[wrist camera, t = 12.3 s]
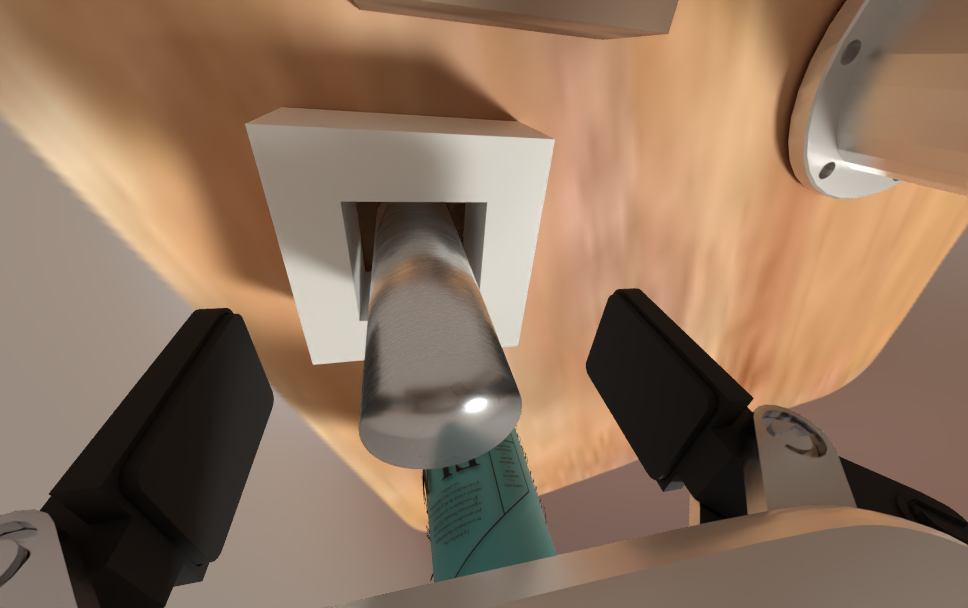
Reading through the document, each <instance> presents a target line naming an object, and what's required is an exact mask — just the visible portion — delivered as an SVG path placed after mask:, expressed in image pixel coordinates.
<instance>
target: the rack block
mask: <svg viewBox="0 0 968 608" xmlns="http://www.w3.org/2000/svg"><path fill="white" fill-rule="evenodd" d="M245 126H246V130H247V134H248V137H249V141H250V144H251V148H252V151H253V155H254V158H255V162H256V165H257V169H258V172H259V176H260V180H261V183H262V187H263V190H264V194H265V197H266V201H267V204H268V208H269V211H270V215H271V218H272V222H273V226H274V229H275V233H276V236H277V240H278V243H279V247H280V250H281V254H282V257H283V261H284V264H285V268H286V271H287V275H288V279H289V282H290V286H291V289H292V293H293V296H294V300H295V303H296V307H297V310H298V314H299V317H300V321H301V325H302V328H303V332H304V335H305V339H306V342H307V346H308V349H309V353H310V356H311V360H312V363H313V365H317V364H328V363H338V362H349V361H360V360H364V358H365V346H366V335H367V323H368V311H369V299H370V287H371V275H372V271H368V272H365V265H364V258H363V251H362V243H361V236H360V228H359V221H358V213H357V206H356V202H465V221H464V242H463V249H464V251H465V254H466V256H467V259H468V261H469V264H470V267H471V269H472V272H473V274H474V277H475V280H476V282H477V285H478V287H479V290H480V292H481V295H482V298H483V300H484V303H485V305H486V308H487V310H488V313H489V316H490V318H491V321H492V323H493V326H494V329H495V331H496V334H497V336H498V339H499V341H500V344H501V347H511V346H518V343H519V337H520V332H521V326H522V320H523V315H524V309H525V304H526V298H527V293H528V287H529V281H530V276H531V270H532V265H533V259H534V254H535V248H536V242H537V237H538V231H539V226H540V220H541V214H542V209H543V203H544V198H545V192H546V187H547V181H548V175H549V170H550V164H551V159H552V153H553V147H554V142H555V139H553V138H551V137H549V136H547V135H545V134H543V133H541V132H539V131H537V130H535V129H533V128H531V127H529V126H527V125H525V124H523V123H521V122H519V121H502V120H486V119H470V118H453V117H437V116H421V115H404V114H388V113H371V112H355V111H339V110H322V109H306V108H290V107H281V108H279V109H276V110H274V111H272V112H270V113H268V114H265V115H263V116H261V117H259V118H256V119H254V120H252V121H250V122H248V123H245Z"/></svg>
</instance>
